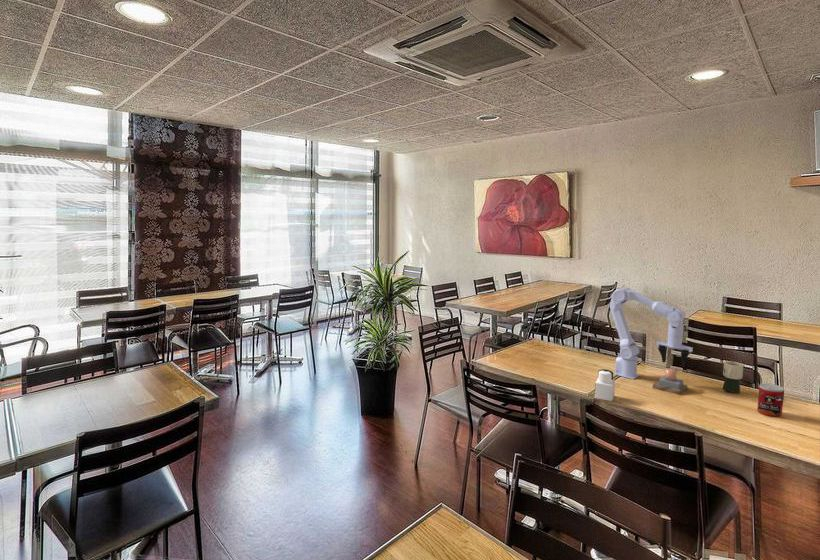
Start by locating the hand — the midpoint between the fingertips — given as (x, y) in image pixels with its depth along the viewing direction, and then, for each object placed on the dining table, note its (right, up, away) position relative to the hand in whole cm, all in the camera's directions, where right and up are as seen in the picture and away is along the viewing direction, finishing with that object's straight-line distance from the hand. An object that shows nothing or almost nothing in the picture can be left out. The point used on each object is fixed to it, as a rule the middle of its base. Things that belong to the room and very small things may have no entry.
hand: (673, 363), depth 205 cm
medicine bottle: (-37, -12, -12) cm, 41 cm away
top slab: (-3, -9, -3) cm, 10 cm away
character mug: (+22, -11, -7) cm, 26 cm away
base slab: (-3, -12, -2) cm, 12 cm away
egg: (-3, -7, -3) cm, 8 cm away
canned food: (+20, -14, -30) cm, 39 cm away
